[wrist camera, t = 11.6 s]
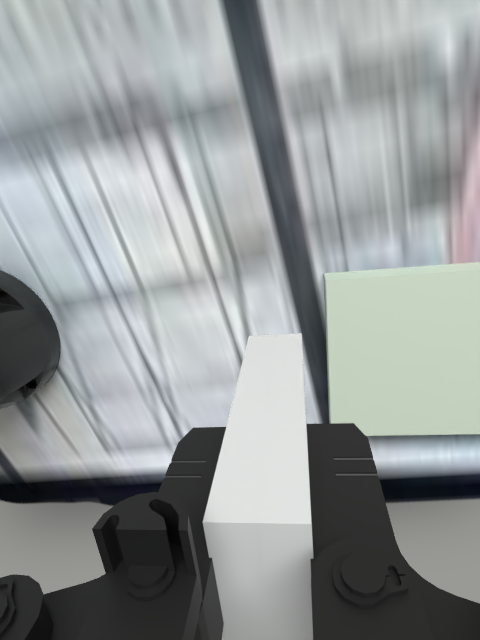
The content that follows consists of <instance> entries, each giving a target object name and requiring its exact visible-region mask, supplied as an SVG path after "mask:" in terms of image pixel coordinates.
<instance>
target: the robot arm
mask: <svg viewBox="0 0 480 640" xmlns="http://www.w3.org/2000/svg"><path fill="white" fill-rule="evenodd" d="M59 356H60V341H59V335H58V331H57V328H56V325H55V323H54V320H53V318H52V316H51V314H50V312H49V311H48V309H47V308H46V306H45V305H44V303H43V302H42V301H41V299H40V298H39V297H38V296H37V295H36V294H35V293H34V292H33V291H32V290H31V289H30V288H29V287H28V286H26V285H25V284H24V283H22V282H21V281H20V280H18V279H17V278H15V277H13V276H11V275H9V274H7V273H5V272H3V271H1V270H0V409H2V408H5V407H8V406H11V405H13V404H16V403H19V402H21V401H23V400H25V399H27V398H29V397H30V396H32V395H33V394H34V393H36V392H37V391H38V390H39V389H40V388H41V387H42V386H43V385H45V384H46V383H47V382H48V381H49V379H50V378H51V377H52V375H53V374H54V372H55V370H56V368H57V365H58V361H59ZM92 530H93V533H94V536H95V539H96V543H97V546H98V549H99V553H100V555H101V559H102V562H103V565H104V569H105V572H106V574H105V575H103V576H101V577H99V578H97V579H94V580H91V581H89V582H86V583H83V584H79V585H76V586H72V587H69V588H66V589H62V590H58V591H54V592H51V593H47V594H44V595H43V592H42V590H41V587H40V585H39V583H38V582H36V581H35V580H34V579H32V578H31V577H29V576H24V575H9V576H5V577H2V578H0V640H221V639H222V632H223V637H224V640H480V604H479V603H476V602H473V601H470V600H467V599H464V598H461V597H458V596H455V595H453V594H451V593H448V592H446V591H444V590H441V589H439V588H437V587H436V586H434V585H433V584H431V583H429V582H428V581H426V580H425V579H423V578H422V577H421V576H420V575H419V574H418V573H417V572H416V571H415V570H414V569H412V568H411V567H410V566H409V564H408V563H407V561H406V560H405V559H404V557H403V556H402V554H401V553H400V550H399V548H398V545H397V543H396V540H395V536H394V533H393V529H392V525H391V522H390V518H389V515H388V511H387V507H386V503H385V500H384V496H383V492H382V489H381V485H380V481H379V478H378V476H377V470H376V466H375V463H374V460H373V455H372V452H371V448H370V444H369V441H368V438H367V437H366V436H365V435H364V434H363V433H362V432H361V430H360V429H359V428H358V427H357V426H356V425H355V424H354V423H332V424H307V418H306V401H305V384H304V367H303V350H302V334H301V333H298V334H278V335H259V336H249V338H248V342H247V346H246V350H245V354H244V358H243V362H242V366H241V370H240V374H239V378H238V382H237V386H236V390H235V394H234V398H233V402H232V406H231V410H230V414H229V418H228V422H227V426H226V427H207V428H193V429H192V430H191V431H190V432H189V433H188V434H187V435H186V436H185V437H184V438H183V439H182V440H181V441H180V442H179V443H178V445H177V447H176V450H175V452H174V455H173V457H172V463H170V465H169V467H168V470H167V472H166V478H164V480H163V482H162V485H161V487H160V489H159V492H158V493H156V492H153V493H146V494H139V495H135V496H133V497H130V498H128V499H126V500H123V501H121V502H119V503H118V504H116V505H115V506H114V507H112V508H111V509H110V510H108V511H107V512H106V513H104V514H103V516H102V517H101V518H100V519H99V521H98V522H97V524H96V525H95V526H94V527H93V529H92Z"/></svg>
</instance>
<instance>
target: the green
mask: <svg viewBox="0 0 480 640" xmlns="http://www.w3.org/2000/svg"><path fill="white" fill-rule="evenodd" d="M324 293H325V321H326V348H327V375H328V402H329V424H332V423H354V424H355V425H356V426H357V427H358V428H359V429H360V430H361V432H362V433H363V434H364V435H365V436H386V435H453V434H480V262H473V263H460V264H446V265H432V266H419V267H405V268H391V269H378V270H364V271H351V272H337V273H324Z"/></svg>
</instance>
